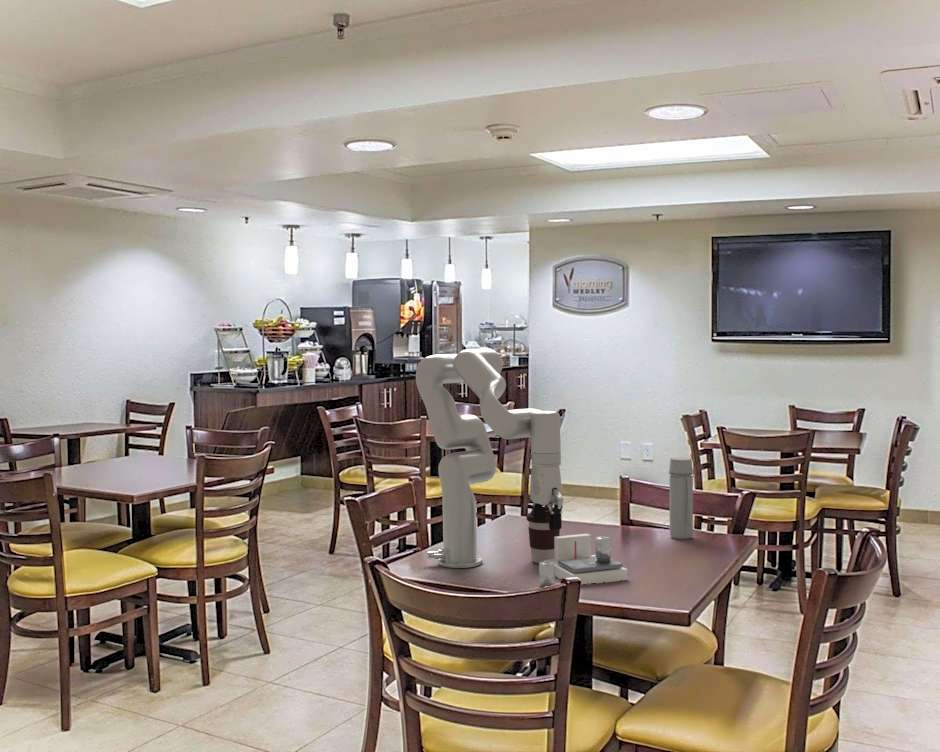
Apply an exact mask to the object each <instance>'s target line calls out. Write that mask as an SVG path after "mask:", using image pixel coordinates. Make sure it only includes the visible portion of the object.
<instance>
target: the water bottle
mask: <svg viewBox="0 0 940 752" xmlns="http://www.w3.org/2000/svg"><path fill="white" fill-rule="evenodd" d="M668 469H669V470H668V475H669V536H670V537H671V538H672V539H675V540H690V539H691V538H692V537H693V536H694V485H693V484H694V477H695V476H696V475H695V473H694V472H693V470H694V469H693V460H692V458H689V457H684V456H683V457H682V456H681V457H679V456H677V457H671V458H670V459H669V468H668ZM689 538H690V539H689Z"/></svg>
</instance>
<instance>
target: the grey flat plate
mask: <svg viewBox="0 0 940 752" xmlns="http://www.w3.org/2000/svg"><path fill="white" fill-rule="evenodd" d="M558 564H559V565H561V566H563V567H565V568H566V569H568V570H570V571H572V572H574V573H577V572H586V571H595V570H604V569H613V568H622V567H623V563H622V562H620V561H618V560H615V559H613V558H611V561H609V562H598V561H596V557H595V556H593V557H583V558H573V559H564V560H558Z"/></svg>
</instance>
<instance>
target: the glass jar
mask: <svg viewBox="0 0 940 752" xmlns="http://www.w3.org/2000/svg"><path fill="white" fill-rule="evenodd" d="M594 540H595V554H594V555H595V557H596V561H598V562H609V561H611V559H612V556H611V554H612V552H611V551H612V550H611V549H612V548H611V544H612V543H611V537H609V536H595V539H594Z"/></svg>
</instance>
